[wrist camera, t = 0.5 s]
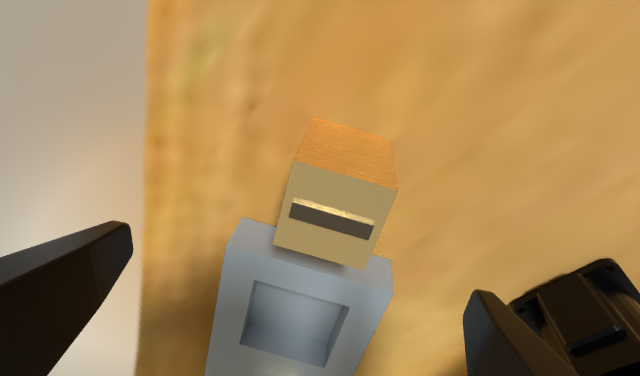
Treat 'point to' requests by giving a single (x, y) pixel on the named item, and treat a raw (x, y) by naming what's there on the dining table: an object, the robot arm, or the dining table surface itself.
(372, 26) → the dining table surface
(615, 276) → the robot arm
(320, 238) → the block
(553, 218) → the dining table surface
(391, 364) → the dining table surface
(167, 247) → the dining table surface
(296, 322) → the grey slotted plate
